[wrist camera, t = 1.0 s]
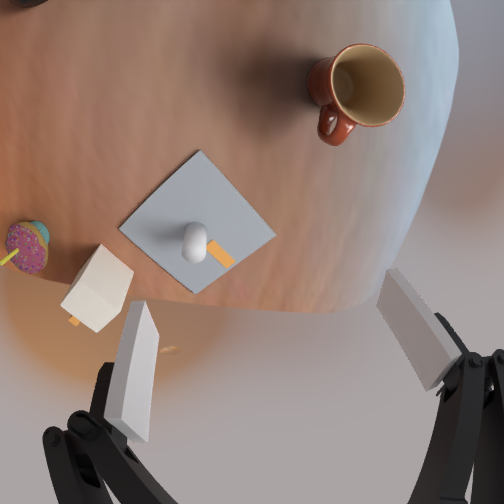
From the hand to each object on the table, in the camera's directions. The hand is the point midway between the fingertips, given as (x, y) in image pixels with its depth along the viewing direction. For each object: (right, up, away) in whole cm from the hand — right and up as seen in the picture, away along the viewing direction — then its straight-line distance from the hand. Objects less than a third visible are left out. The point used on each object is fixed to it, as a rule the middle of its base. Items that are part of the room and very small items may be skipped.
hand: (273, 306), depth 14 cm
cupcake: (-36, +6, +20) cm, 41 cm away
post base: (-9, +6, +24) cm, 26 cm away
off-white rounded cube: (-26, -1, +26) cm, 36 cm away
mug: (+8, +23, +16) cm, 29 cm away
